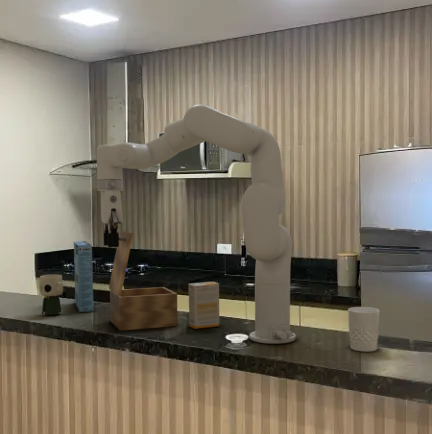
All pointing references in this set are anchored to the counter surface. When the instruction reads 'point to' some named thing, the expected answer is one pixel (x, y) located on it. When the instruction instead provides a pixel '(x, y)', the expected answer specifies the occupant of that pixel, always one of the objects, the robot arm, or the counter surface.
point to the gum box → (83, 276)
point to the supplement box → (203, 305)
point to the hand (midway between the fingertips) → (111, 245)
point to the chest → (143, 308)
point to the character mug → (51, 293)
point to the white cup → (363, 328)
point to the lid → (120, 262)
